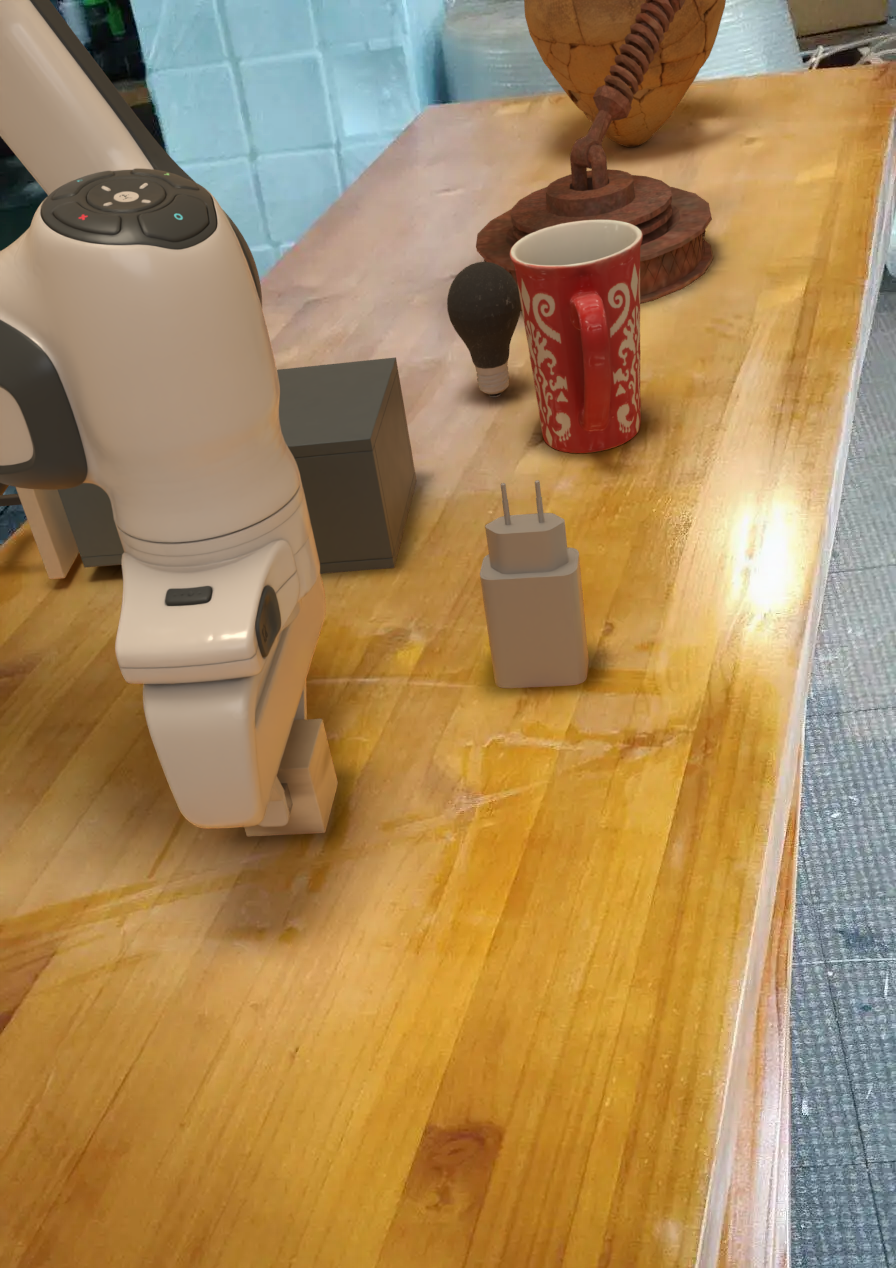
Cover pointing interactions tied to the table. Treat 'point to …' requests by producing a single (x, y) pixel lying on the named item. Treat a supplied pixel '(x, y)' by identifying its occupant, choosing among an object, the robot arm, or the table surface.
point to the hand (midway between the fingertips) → (285, 785)
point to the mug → (583, 330)
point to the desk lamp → (617, 183)
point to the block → (305, 780)
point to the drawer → (69, 526)
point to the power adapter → (533, 600)
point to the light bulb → (486, 320)
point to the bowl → (590, 39)
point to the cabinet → (350, 459)
